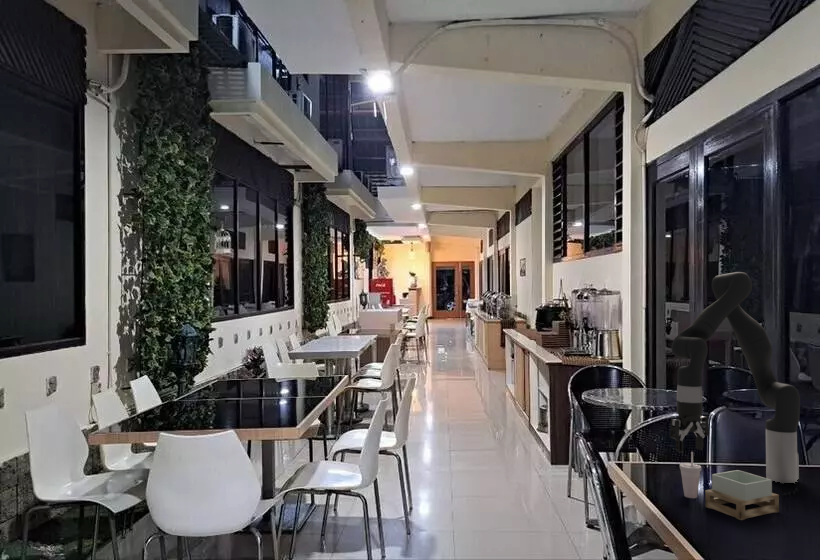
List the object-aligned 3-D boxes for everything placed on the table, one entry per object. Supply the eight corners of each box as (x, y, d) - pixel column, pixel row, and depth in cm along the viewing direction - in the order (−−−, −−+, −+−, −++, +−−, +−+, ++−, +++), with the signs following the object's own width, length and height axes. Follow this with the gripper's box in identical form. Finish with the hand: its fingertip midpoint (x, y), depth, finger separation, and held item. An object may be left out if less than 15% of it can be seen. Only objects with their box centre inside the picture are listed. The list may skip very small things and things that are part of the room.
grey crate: (737, 484, 193) (737, 469, 193) (771, 495, 182) (771, 479, 183) (712, 489, 188) (712, 474, 188) (745, 500, 178) (745, 484, 178)
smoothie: (704, 500, 193) (703, 455, 194) (682, 498, 195) (681, 454, 195) (698, 493, 200) (698, 449, 200) (677, 492, 201) (677, 448, 201)
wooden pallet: (742, 499, 194) (742, 483, 194) (778, 511, 183) (778, 494, 183) (705, 506, 187) (705, 490, 187) (741, 520, 176) (741, 502, 177)
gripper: (695, 396, 204) (696, 446, 204) (663, 399, 198) (663, 450, 198) (715, 400, 197) (715, 451, 197) (682, 403, 192) (682, 455, 191)
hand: (689, 450), depth 198 cm, fingers open, 8 cm apart
